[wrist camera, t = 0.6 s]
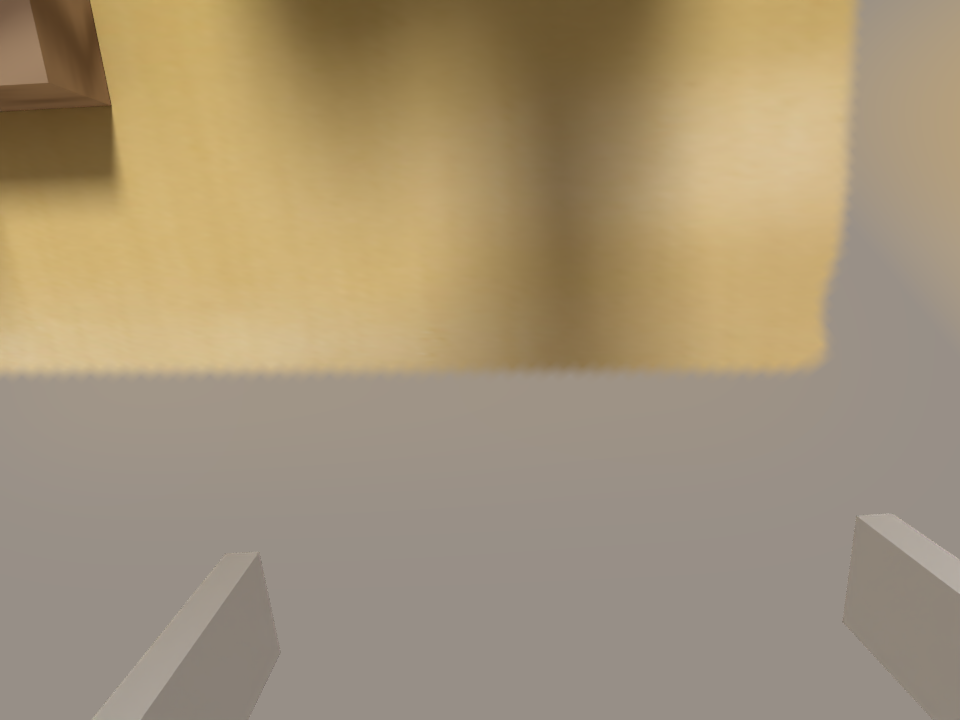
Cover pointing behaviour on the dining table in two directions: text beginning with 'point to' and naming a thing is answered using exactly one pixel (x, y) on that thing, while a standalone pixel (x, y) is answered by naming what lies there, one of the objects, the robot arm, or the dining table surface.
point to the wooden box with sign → (49, 56)
